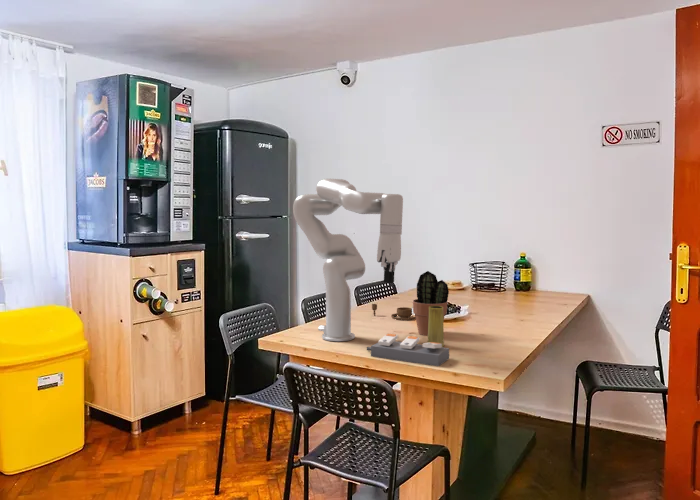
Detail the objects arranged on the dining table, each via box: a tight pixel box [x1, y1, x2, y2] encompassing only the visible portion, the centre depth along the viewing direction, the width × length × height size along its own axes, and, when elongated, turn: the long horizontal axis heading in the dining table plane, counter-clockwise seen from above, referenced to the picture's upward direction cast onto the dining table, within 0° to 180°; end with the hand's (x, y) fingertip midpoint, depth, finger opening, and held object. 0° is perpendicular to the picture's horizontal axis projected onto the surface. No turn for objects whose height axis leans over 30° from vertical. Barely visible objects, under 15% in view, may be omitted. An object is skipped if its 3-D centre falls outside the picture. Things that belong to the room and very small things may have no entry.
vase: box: [427, 306, 445, 348], centre depth 195 cm, size 6×6×14 cm
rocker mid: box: [400, 335, 420, 349], centre depth 180 cm, size 4×7×1 cm, turn 150°
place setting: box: [371, 303, 416, 321], centre depth 249 cm, size 18×20×6 cm
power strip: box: [366, 340, 450, 367], centre depth 181 cm, size 28×10×4 cm, turn 60°
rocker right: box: [422, 342, 442, 348], centre depth 176 cm, size 4×7×1 cm, turn 150°
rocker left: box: [377, 333, 399, 346], centre depth 184 cm, size 4×7×1 cm, turn 150°
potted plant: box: [412, 270, 450, 337], centre depth 214 cm, size 14×14×25 cm
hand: (388, 282), depth 188 cm, fingers closed
